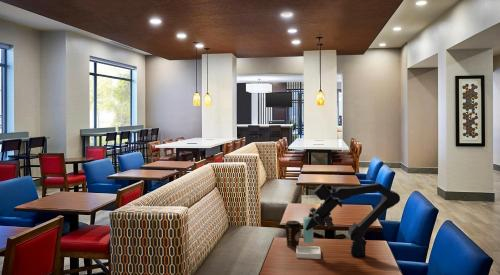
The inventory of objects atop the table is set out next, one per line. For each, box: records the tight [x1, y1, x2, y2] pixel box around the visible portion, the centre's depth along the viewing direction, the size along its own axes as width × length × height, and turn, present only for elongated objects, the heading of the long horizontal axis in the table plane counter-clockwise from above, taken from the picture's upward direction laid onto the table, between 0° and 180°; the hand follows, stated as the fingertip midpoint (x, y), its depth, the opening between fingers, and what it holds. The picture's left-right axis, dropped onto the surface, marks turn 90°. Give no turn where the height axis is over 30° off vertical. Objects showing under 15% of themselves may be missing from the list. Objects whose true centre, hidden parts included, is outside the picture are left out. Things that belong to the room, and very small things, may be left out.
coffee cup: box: [284, 220, 302, 248], centre depth 216 cm, size 9×8×13 cm
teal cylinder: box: [302, 216, 314, 244], centre depth 202 cm, size 5×5×12 cm
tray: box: [295, 245, 322, 260], centre depth 203 cm, size 12×12×2 cm
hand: (305, 228), depth 202 cm, fingers closed on teal cylinder, 5 cm apart
